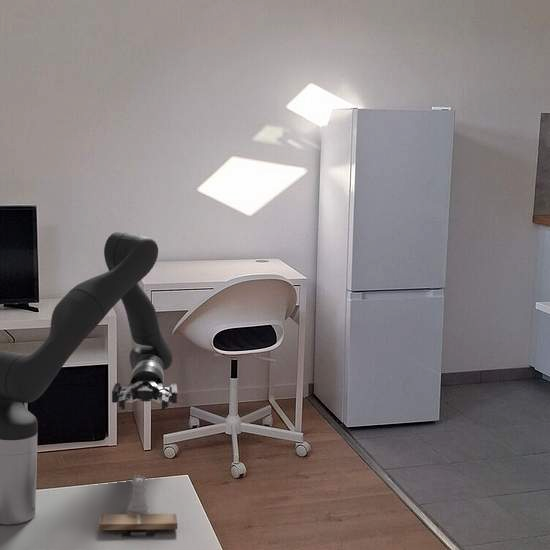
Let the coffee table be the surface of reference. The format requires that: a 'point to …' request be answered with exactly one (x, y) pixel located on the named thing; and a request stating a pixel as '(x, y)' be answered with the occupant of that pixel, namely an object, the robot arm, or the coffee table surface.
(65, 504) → the coffee table surface
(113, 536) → the coffee table surface
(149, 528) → the beam
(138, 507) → the rook chess piece
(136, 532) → the fulcrum
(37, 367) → the robot arm
